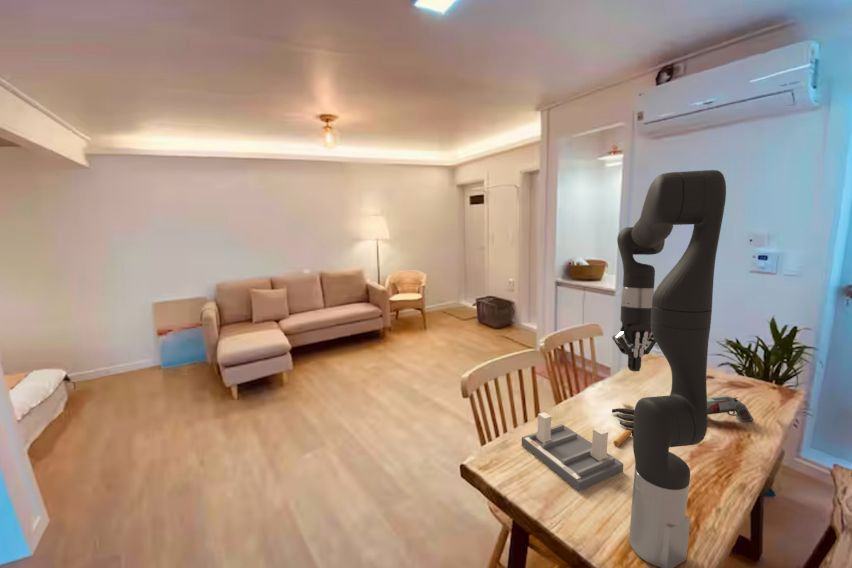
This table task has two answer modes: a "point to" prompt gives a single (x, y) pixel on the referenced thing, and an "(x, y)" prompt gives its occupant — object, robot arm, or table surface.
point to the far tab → (544, 427)
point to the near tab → (599, 444)
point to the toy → (624, 424)
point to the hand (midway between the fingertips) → (634, 370)
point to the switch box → (572, 458)
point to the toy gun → (728, 407)
